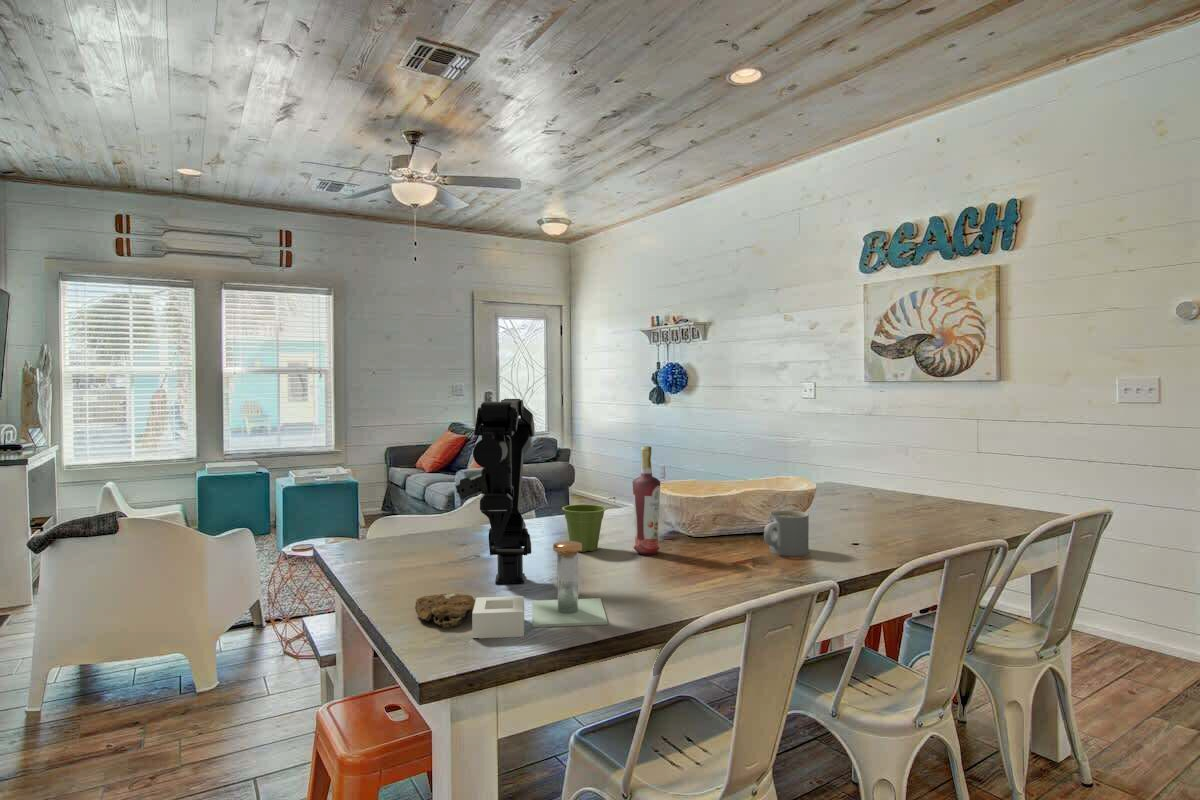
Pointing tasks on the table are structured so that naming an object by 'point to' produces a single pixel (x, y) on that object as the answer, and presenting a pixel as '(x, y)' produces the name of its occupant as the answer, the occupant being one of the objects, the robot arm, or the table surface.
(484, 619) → the collar
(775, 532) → the coffee mug
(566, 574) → the glass jar with lid
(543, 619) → the sage mat
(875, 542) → the table surface
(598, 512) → the plant pot
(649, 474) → the liquor
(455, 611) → the decorative rock
